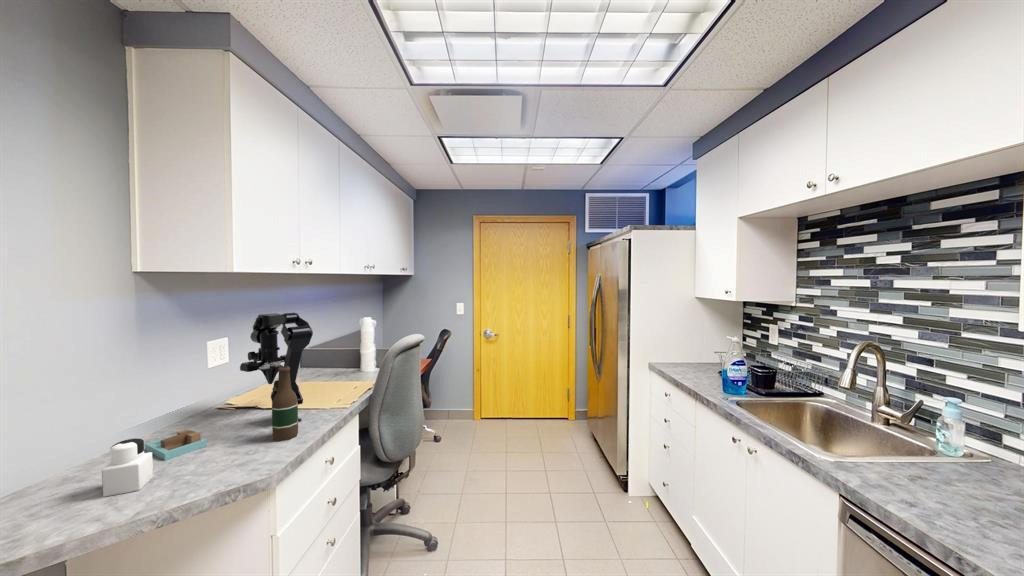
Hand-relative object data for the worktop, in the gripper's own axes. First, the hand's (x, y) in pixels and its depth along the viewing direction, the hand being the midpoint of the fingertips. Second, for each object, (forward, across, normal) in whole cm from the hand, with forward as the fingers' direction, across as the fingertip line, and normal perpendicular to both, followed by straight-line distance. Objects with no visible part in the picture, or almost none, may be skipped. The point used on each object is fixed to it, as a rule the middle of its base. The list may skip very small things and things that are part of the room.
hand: (270, 384), depth 148 cm
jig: (+12, +31, +4) cm, 33 cm away
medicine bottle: (+12, +47, +21) cm, 53 cm away
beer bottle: (+12, +10, +27) cm, 31 cm away
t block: (+12, +31, +5) cm, 34 cm away
